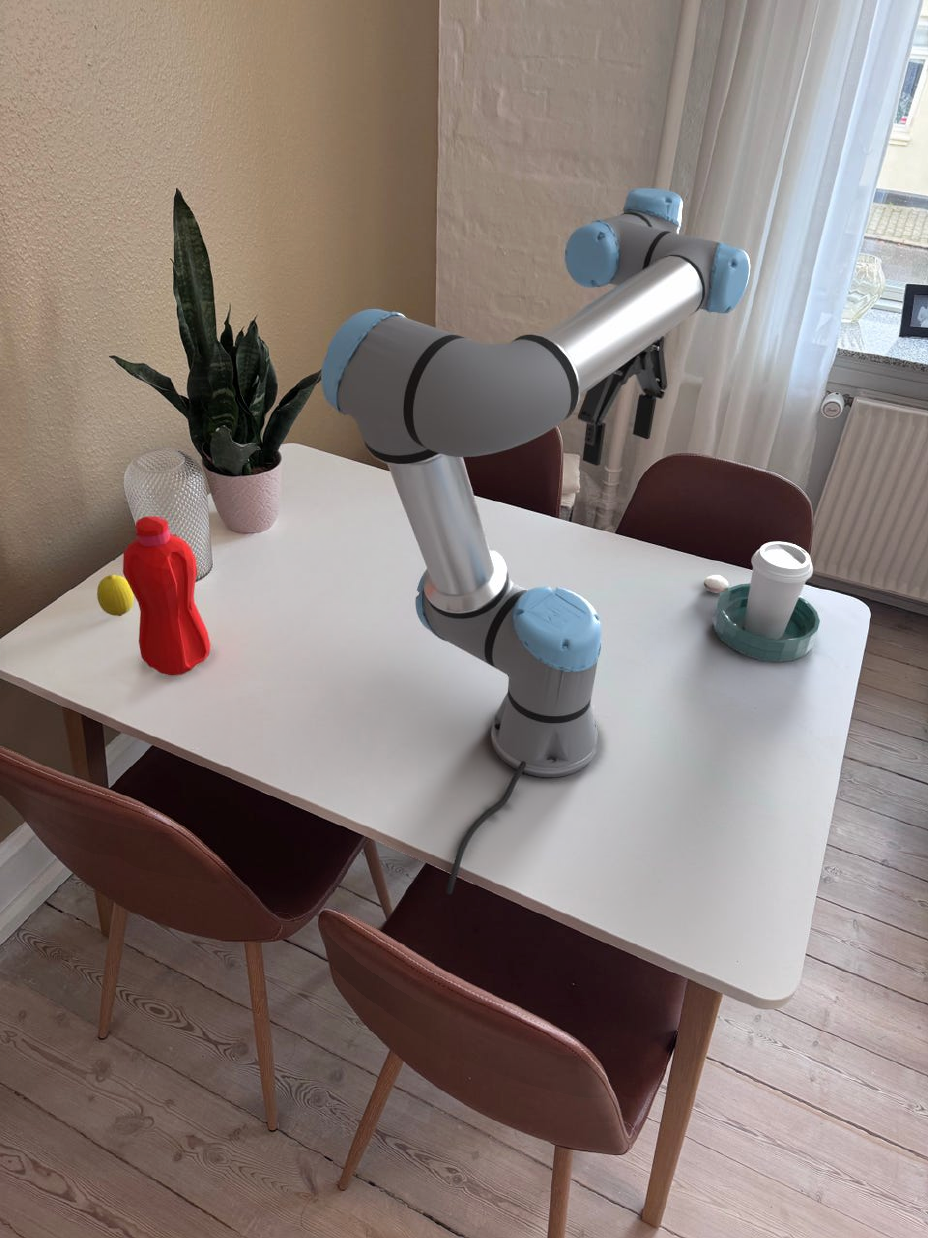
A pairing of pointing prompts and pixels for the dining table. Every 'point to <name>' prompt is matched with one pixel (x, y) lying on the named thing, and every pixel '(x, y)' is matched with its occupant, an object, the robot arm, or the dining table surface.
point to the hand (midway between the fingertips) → (616, 449)
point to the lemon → (115, 595)
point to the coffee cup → (775, 587)
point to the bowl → (786, 648)
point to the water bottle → (165, 598)
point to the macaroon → (716, 584)
